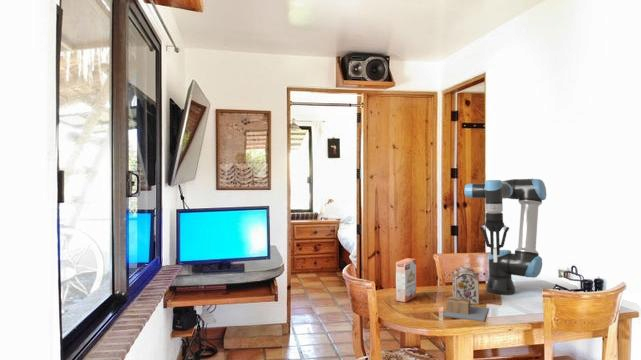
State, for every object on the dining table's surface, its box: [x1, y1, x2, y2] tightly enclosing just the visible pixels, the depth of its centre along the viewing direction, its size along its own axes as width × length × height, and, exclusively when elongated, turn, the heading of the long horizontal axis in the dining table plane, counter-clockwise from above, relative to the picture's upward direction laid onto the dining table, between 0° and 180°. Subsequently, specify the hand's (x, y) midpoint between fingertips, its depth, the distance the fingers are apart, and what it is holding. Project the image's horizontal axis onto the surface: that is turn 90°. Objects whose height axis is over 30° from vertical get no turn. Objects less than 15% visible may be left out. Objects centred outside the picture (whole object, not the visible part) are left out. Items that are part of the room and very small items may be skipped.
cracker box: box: [395, 257, 417, 303], centre depth 217 cm, size 14×6×21 cm, turn 143°
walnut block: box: [445, 296, 472, 315], centre depth 195 cm, size 9×5×10 cm
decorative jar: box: [452, 265, 480, 306], centre depth 212 cm, size 12×12×18 cm
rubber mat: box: [442, 305, 489, 323], centre depth 193 cm, size 20×18×1 cm
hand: (495, 261), depth 192 cm, fingers closed
